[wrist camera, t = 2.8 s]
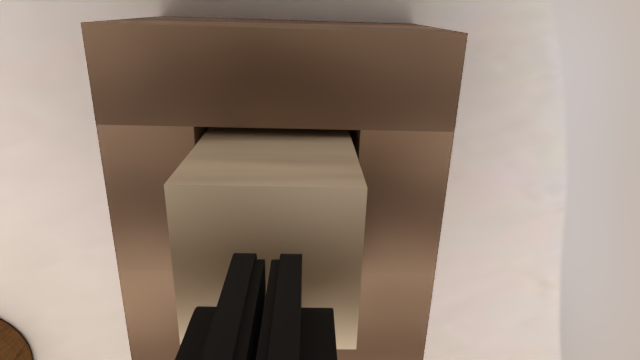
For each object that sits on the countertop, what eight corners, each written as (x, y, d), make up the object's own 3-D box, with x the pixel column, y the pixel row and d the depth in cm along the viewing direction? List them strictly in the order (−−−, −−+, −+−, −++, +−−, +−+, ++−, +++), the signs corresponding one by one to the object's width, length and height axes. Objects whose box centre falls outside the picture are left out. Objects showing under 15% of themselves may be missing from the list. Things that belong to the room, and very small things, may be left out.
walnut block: (159, 16, 21) (80, 22, 14) (413, 23, 22) (467, 33, 14) (195, 403, 30) (158, 535, 23) (376, 403, 30) (399, 533, 23)
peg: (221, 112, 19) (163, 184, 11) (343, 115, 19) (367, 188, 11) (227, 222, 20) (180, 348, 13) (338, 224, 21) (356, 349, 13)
